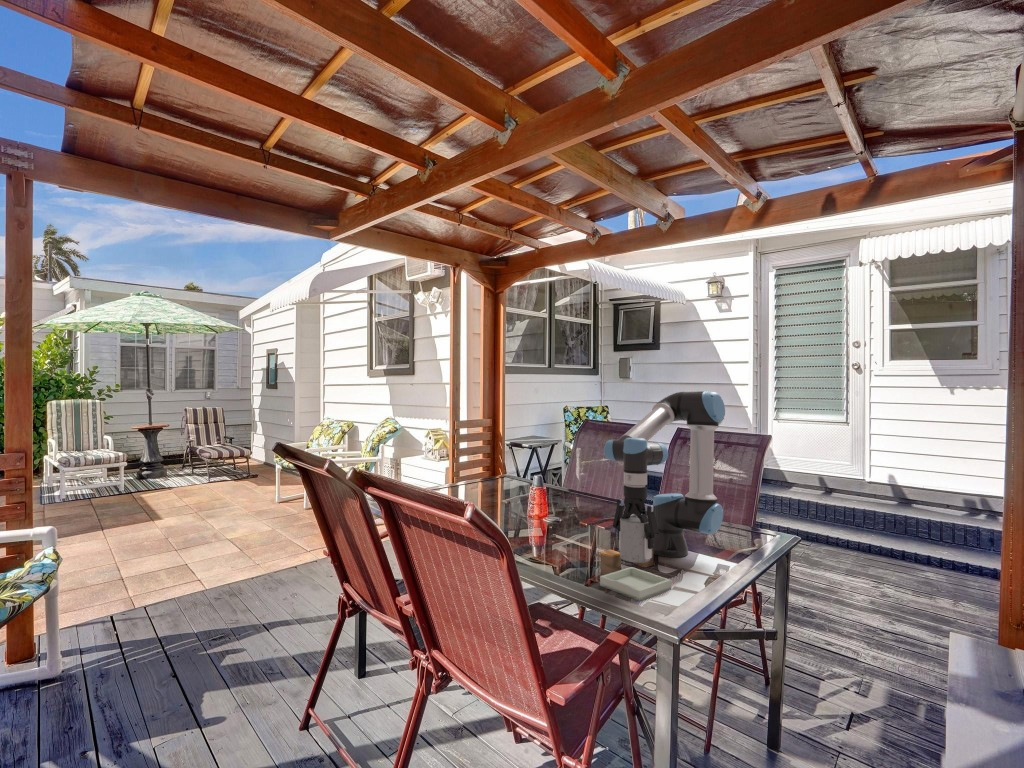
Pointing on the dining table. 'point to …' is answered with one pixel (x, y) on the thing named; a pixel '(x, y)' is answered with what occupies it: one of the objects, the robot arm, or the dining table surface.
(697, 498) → the robot arm
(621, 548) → the grey cylinder
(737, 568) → the dining table surface
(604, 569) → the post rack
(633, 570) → the tray
